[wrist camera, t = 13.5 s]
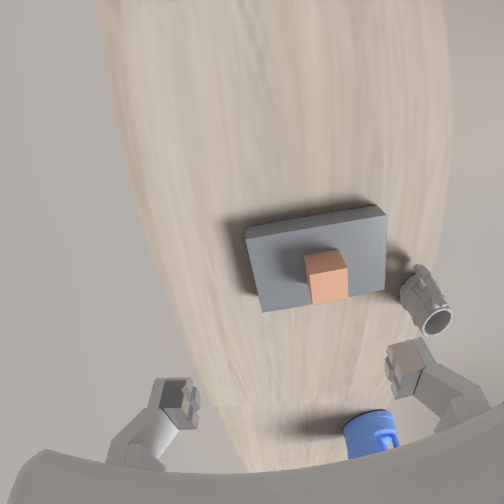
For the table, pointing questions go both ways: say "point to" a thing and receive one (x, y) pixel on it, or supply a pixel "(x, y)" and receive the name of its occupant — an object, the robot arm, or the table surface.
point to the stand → (315, 241)
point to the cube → (326, 276)
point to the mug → (425, 302)
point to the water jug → (370, 434)
